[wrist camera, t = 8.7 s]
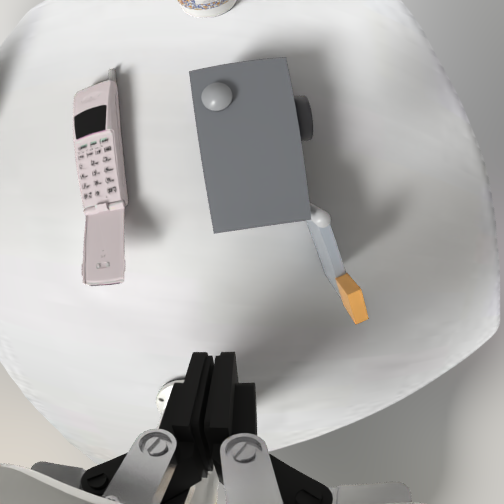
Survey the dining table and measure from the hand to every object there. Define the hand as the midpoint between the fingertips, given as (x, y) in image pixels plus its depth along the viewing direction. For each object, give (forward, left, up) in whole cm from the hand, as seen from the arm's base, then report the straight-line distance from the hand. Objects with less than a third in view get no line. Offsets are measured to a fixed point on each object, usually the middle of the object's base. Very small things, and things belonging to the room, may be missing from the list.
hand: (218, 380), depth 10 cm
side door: (-1, -9, -22) cm, 23 cm away
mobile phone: (+12, +14, -22) cm, 29 cm away
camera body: (+10, -3, -22) cm, 24 cm away
